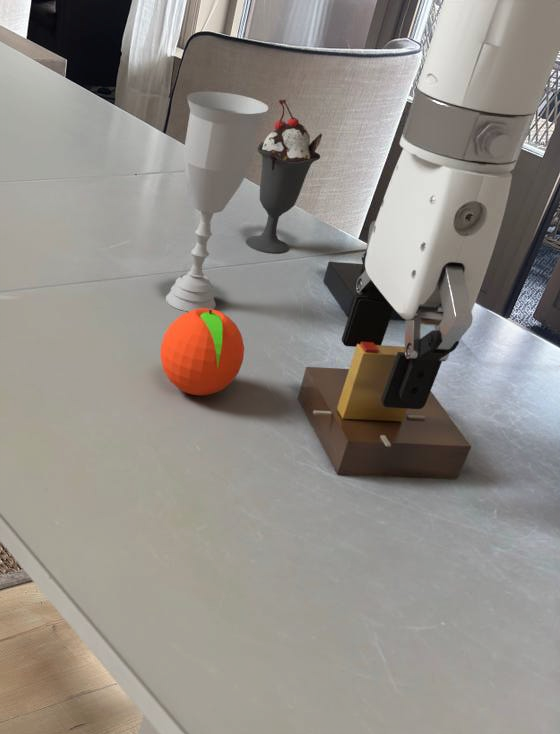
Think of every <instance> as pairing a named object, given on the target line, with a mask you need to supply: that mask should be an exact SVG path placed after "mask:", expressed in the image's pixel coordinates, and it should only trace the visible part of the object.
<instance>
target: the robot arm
mask: <svg viewBox="0 0 560 734" xmlns="http://www.w3.org/2000/svg"><path fill="white" fill-rule="evenodd" d="M431 36H432V37H431V40H430V43H429V46H428V49H427V52H426V56H425V58H424V62H423V67H422V68H421V72H420V76H419V78H418V81H417V84H416V85H417V87H415V88H416V89H415V92H414V95H413V98H412V101H411V104H410V108H409V111H408V114H407V117H406V121H405V123H404V127H403V130H402V134H401V137H400V140H399V146H400V147H401V148H402V150H401V152H400V155H399V158H398V160H397V162H396V165H395V167H394V169H393V172H392V174H391V178H390V180H389V183H388V186H387V188H386V190H385V194H384V196H383V199H382V201H381V205H380V207H379V211H378V213H377V216H376V219H375V220H373V221H371V222H370V225H369V229H368V235H367V242H366V243H367V244H366V251H364V253H363V256H362V257H361V263H362V264H363V274H362V275H361V276H360V277H359V278H358V280H357V284H356V291H357V293H362V295H358V294H355V297H354V301H353V304H352V307H351V310H350V314H349V317H347V320H346V323H345V326H344V329H343V333H342V336H341V342H342V345H344V347H350V348H351V347H353V348H356V346H357V344H360V343H361V342H373V343H374V344H375V345H383V342H384V338H385V335H386V332H387V330H388V327H389V324H390V321H391V320H390V318H391V315H392V312H393V309H395V310H396V312H397V313H398V314H399V315H400V316H401V317H402V318H404V319H406V321H405V327H404V347H405V350H404V352H398V353H397V356H396V359H395V361H394V364H393V367H392V370H391V373H390V376H389V378H388V381H387V384H386V387H385V390H384V392H383V395H382V398H381V402H382V403H383V405H384V406H385V407H391V408H407V409H421V408H423V407H424V406H425V404H426V401H427V399H428V396H429V394H430V391H431V392H432V388H433V386H434V382H436V381H435V380H436V378H437V375H438V373H439V371H440V368H441V365H442V363H443V362H446V361H447V360H448V358H449V356H450V353H452V352H454V351H455V350H456V349H457V348H458V346H459V344H460V340H461V339H462V337H463V336H464V335H465V334H466V333H467V331H468V330H469V329H470V328H471V326H472V323H473V310H474V306H475V304H476V301H477V299H478V296H479V294H480V290H481V288H482V285H483V282H484V279H485V276H486V275H487V274H486V273H487V271H488V267H489V264H490V262H491V259H492V256H493V253H494V251H495V246H496V243H497V239H498V237H499V233H500V230H501V226H502V224H503V223H502V222H503V219H504V215H505V213H506V207H507V204H508V199H509V194H510V189H511V185H512V178H513V175H512V173H511V172H512V171H513V170H514V169H515V167H516V164H517V162H518V159H519V156H520V154H521V152H522V149H523V147H524V144H525V141H526V139H527V136H528V134H529V131H530V129H531V126H532V123H533V121H534V119H535V116H536V112H537V110H538V108H539V105H540V102H541V99H542V97H543V95H544V92H545V90H546V88H547V84H548V82H549V80H550V76H551V74H552V71H553V69H554V67H555V64H556V61H557V58H558V56H559V54H560V0H443V1H442V4H441V7H440V10H439V14H438V17H437V20H436V23H435V27H434V30H433V33H432V35H431ZM419 306H426V307H437V306H438V311H426V310H419ZM421 325H431V326H434V329H432V330H430V331H429V332H428V333H426V334H425V335H424V336H422V337H421Z"/></svg>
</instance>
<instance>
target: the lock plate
mask: <svg viewBox="0 0 560 734" xmlns="http://www.w3.org/2000/svg"><path fill="white" fill-rule="evenodd" d="M348 371H349V368H341V367H339V368H338V367H320V366H319V367H318V366H306V367H305V370H304V373H303V378H302V381H301V384H300V387H299V392H298V395H297V400H298V403H299V404H300V406H301V408H302V410H303V412H304V414H305V416H306V418H307V420H308V421H309V423H310V425H311V427H312V429H313V431H314V433H315V435H316V437H317V439H318V441H319V442H320V444H321V446H322V448H323V450H324V452H325V454H326V456H327V457H328V459H329V462H330V464H331V465H332V467H333V469H334V472H335V474H336V475H339V476H341V475H342V476H363V477H366V476H367V477H390V478H391V477H393V478H394V477H395V478H416V479H417V478H419V479H443V480H445V479H446V480H458V479H459V477H460V474H461V473H462V469H463V468H464V465H465V463H466V461H467V458H468V456H469V454H470V451H471V449H472V445H471V444H470V442H469V441H468V439H467V438H466V436H465V435H464V434H463V433H462V431H461V430H460V428H458V426H457V424H455V423H456V422H454V421H453V419H452V418H451V417H450V414H448V412H447V411H446V409H445V408H444V407H443V405H442V404H441V402H439V400H438V398H436V396H435V395H434V393H433V392H432V390H431V391H430V394H429V396H428V399H427V401H426V404H425V406H424V407H423V408H421V409H407V411H406V414H405V416H404V419H403V421H381V420H359V419H343V418H342V417H341V415H340V413H339V412H338V410H337V407H338V404H339V400H340V397H341V394H342V391H343V388H344V384H345V381H346V378H347V375H348Z"/></svg>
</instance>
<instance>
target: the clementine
mask: <svg viewBox="0 0 560 734" xmlns="http://www.w3.org/2000/svg"><path fill="white" fill-rule="evenodd" d="M243 339H244V338H243V335H242V333H241V331H240V329H239V328H238V325H236V323H235V322H234V321H233V320H232V319H231V318H230V317H229V316H228V315H226V313H223V312H221V311H219V310H216V309H207V308H200V309H195V310H192V311H190V312H188V311H186V312H184V313H183V314H181V315H180V316H179V317H177V318H176V319H175V320H174V321H172V322H171V323H170V325H169V327H168V328H167V330H166V331H165V333H164V335H163V338H162V341H161V345H160V361H161V366H162V370H163V372H164V374H165V375H166V377H167V378H168V380H169V382H170V383H171V384H173V386H175V387H176V388H177V389H178V390H180V391H182V392H184V393H186V394H188V395H192V396H193V395H194V396H209V395H212V394H215V393H218V392H220V391H222V390H223V389H225V388H226V387H228V386H229V385H230V384H231V383H232V382H233V381H234V379H236V377H237V375H238V374H239V372H240V371H241V367H242V365H243V361H244V355H245V345H244V340H243Z"/></svg>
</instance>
